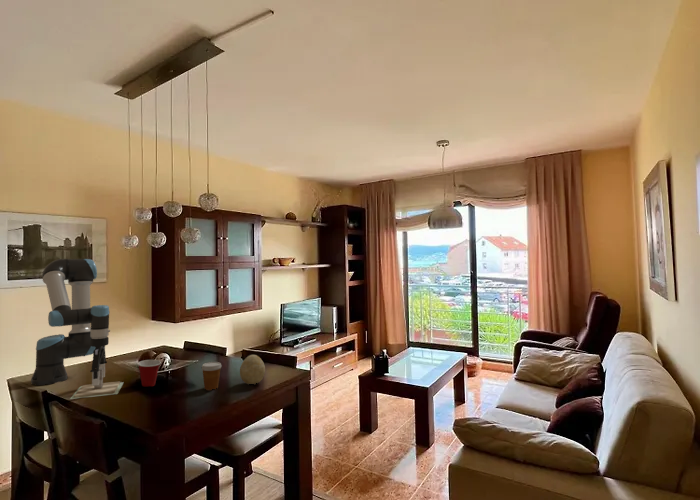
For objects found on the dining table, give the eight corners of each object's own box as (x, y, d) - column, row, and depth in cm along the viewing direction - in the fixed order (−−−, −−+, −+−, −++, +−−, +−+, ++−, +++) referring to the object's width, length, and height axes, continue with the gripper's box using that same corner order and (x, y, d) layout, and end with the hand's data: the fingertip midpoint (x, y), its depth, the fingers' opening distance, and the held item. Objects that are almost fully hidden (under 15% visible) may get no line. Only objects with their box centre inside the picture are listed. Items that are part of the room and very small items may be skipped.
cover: (82, 387, 193) (83, 366, 193) (119, 383, 199) (120, 363, 200) (74, 397, 178) (74, 375, 179) (114, 393, 185) (115, 372, 185)
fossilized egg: (252, 379, 209) (252, 351, 210) (270, 382, 203) (270, 354, 203) (234, 385, 198) (234, 355, 199) (252, 389, 192) (252, 359, 192)
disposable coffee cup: (200, 392, 188) (200, 367, 188) (202, 386, 197) (202, 362, 198) (220, 390, 191) (221, 365, 191) (221, 384, 200) (222, 361, 200)
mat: (80, 387, 194) (80, 386, 194) (123, 383, 201) (123, 382, 201) (69, 400, 176) (69, 399, 176) (117, 394, 184) (117, 393, 184)
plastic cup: (150, 389, 191) (151, 365, 191) (131, 388, 193) (132, 364, 194) (165, 383, 202) (166, 359, 202) (147, 381, 204) (147, 358, 204)
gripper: (103, 341, 180) (102, 387, 179) (113, 332, 203) (112, 373, 202) (84, 342, 177) (83, 389, 176) (96, 333, 200) (95, 375, 199)
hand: (98, 381), depth 189 cm, fingers open, 13 cm apart
